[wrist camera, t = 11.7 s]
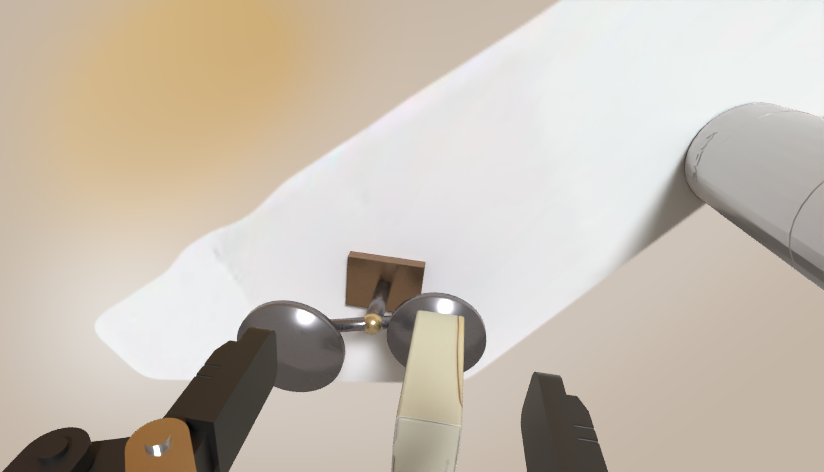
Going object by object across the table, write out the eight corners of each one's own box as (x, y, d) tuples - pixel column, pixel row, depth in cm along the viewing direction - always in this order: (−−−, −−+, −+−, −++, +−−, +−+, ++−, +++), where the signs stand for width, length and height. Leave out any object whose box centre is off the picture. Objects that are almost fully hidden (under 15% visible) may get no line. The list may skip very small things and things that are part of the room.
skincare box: (456, 368, 41) (453, 492, 30) (409, 361, 41) (389, 482, 31) (465, 313, 38) (465, 428, 28) (414, 306, 39) (395, 417, 28)
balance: (489, 258, 45) (498, 339, 34) (474, 328, 49) (478, 421, 38) (290, 229, 46) (233, 298, 35) (291, 300, 50) (240, 382, 39)
